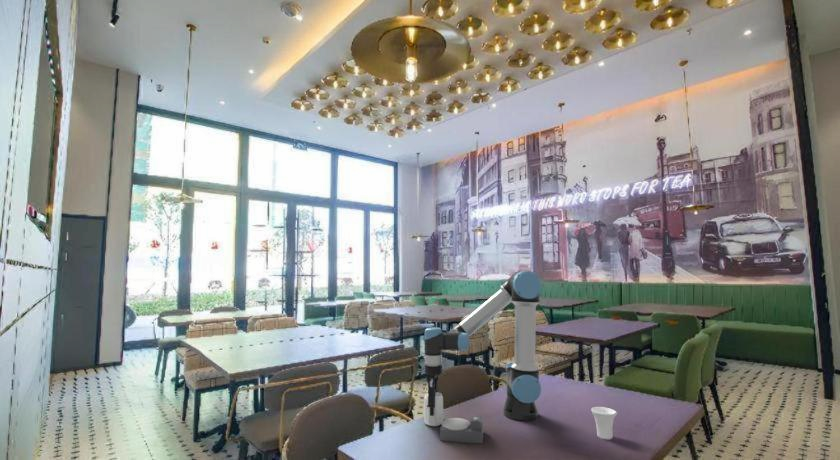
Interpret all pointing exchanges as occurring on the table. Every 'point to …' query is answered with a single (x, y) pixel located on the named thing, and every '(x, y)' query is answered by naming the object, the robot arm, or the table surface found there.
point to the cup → (604, 421)
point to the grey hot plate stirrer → (462, 430)
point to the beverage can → (438, 409)
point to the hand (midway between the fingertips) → (433, 419)
